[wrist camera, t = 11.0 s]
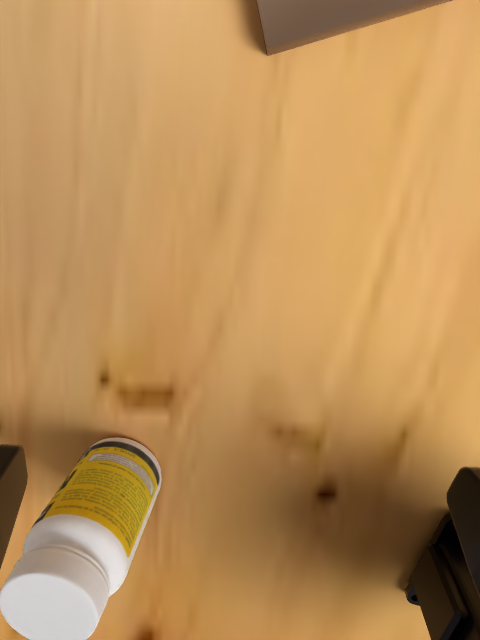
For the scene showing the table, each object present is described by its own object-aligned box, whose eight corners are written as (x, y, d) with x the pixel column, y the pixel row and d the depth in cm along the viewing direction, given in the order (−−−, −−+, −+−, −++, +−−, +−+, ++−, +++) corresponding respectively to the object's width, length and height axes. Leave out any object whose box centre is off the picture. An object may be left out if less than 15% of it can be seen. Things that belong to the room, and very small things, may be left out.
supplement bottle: (84, 427, 24) (-15, 552, 16) (167, 442, 23) (110, 577, 16) (81, 496, 25) (-10, 642, 17) (159, 511, 25) (103, 665, 17)
